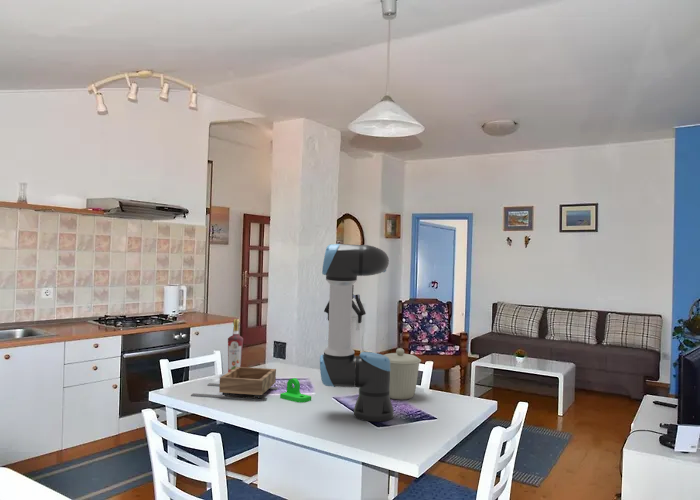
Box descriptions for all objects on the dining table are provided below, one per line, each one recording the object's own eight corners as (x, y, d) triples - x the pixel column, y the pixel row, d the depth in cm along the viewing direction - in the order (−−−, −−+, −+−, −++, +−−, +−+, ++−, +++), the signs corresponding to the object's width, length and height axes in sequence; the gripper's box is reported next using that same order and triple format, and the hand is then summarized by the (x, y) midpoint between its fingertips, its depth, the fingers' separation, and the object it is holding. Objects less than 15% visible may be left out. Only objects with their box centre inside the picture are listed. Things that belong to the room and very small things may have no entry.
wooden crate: (261, 399, 213) (262, 380, 213) (219, 396, 215) (219, 377, 215) (275, 386, 234) (275, 369, 235) (236, 383, 236) (237, 366, 237)
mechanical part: (280, 398, 218) (280, 379, 218) (289, 395, 223) (290, 377, 223) (301, 404, 211) (302, 384, 211) (311, 401, 216) (311, 381, 216)
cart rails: (265, 400, 213) (265, 399, 213) (190, 396, 217) (190, 394, 217) (278, 388, 233) (278, 387, 233) (209, 384, 237) (209, 383, 237)
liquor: (242, 375, 256) (244, 318, 256) (240, 379, 249) (242, 320, 249) (227, 375, 255) (229, 318, 256) (225, 379, 248) (227, 320, 248)
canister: (384, 389, 238) (385, 343, 238) (423, 394, 232) (424, 347, 232) (372, 399, 221) (374, 349, 221) (414, 404, 215) (416, 353, 215)
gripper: (373, 284, 243) (371, 330, 242) (325, 282, 252) (323, 325, 252) (367, 285, 236) (366, 332, 235) (318, 282, 245) (316, 327, 245)
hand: (344, 329), depth 244 cm, fingers open, 13 cm apart
